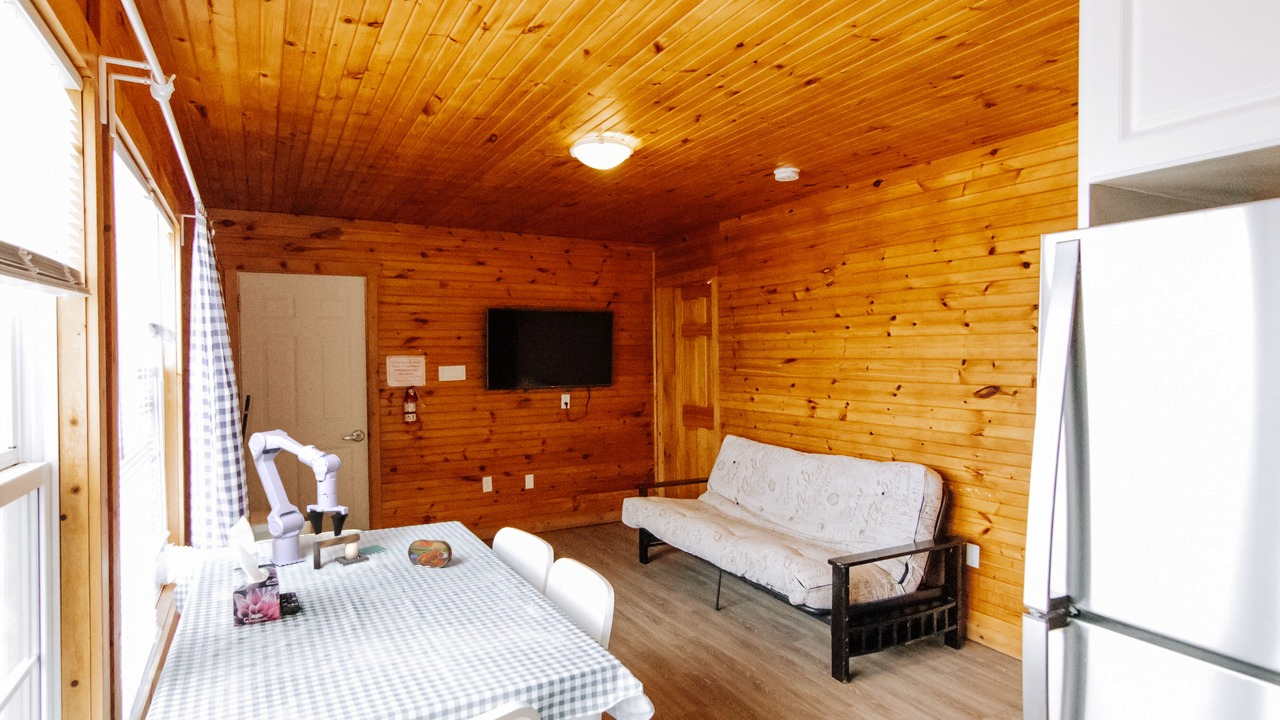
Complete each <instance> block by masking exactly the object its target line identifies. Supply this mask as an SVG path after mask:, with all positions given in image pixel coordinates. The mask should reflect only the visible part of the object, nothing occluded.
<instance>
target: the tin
mask: <svg viewBox="0 0 1280 720" xmlns="http://www.w3.org/2000/svg"><path fill="white" fill-rule="evenodd" d="M407 557H408V559H409V561H410V563H411V564H412V565H413V566H415V565H422V566H430V567H429V568H432V567H440V568H439V569H441V568H443V567H444V566H445V567H446V566H447V565H448V564H449V563H450V562H451V560H452V557H453V550H452V547H451V545H450V544H449V543H448V542H447V541H446V540H442V539H441V540H439V539H417V540H415V541H412V542H411V544H410V545H409V546H408V551H407Z"/></svg>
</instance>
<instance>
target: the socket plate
mask: <svg viewBox="0 0 1280 720" xmlns="http://www.w3.org/2000/svg"><path fill="white" fill-rule="evenodd" d="M358 557H359V558H358V559H353V560H349V561H346V560H345V555H340V556H336V557H334V561H335V562H336V561H337V562H336V563H338V562H339V563H338V564H340V565H342V564H343V565H342V566H344V567H346V566H345V565H347V566H350V565H349V564H351V565H354V564H353V563H355V564H358V563H357V562H359V563H362V562H361V561H363V562H365V561H364V560H368V561H369V560H370V557H369V556H368V555H366V556H365V555H363V554H361V553H359V552H358Z"/></svg>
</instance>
